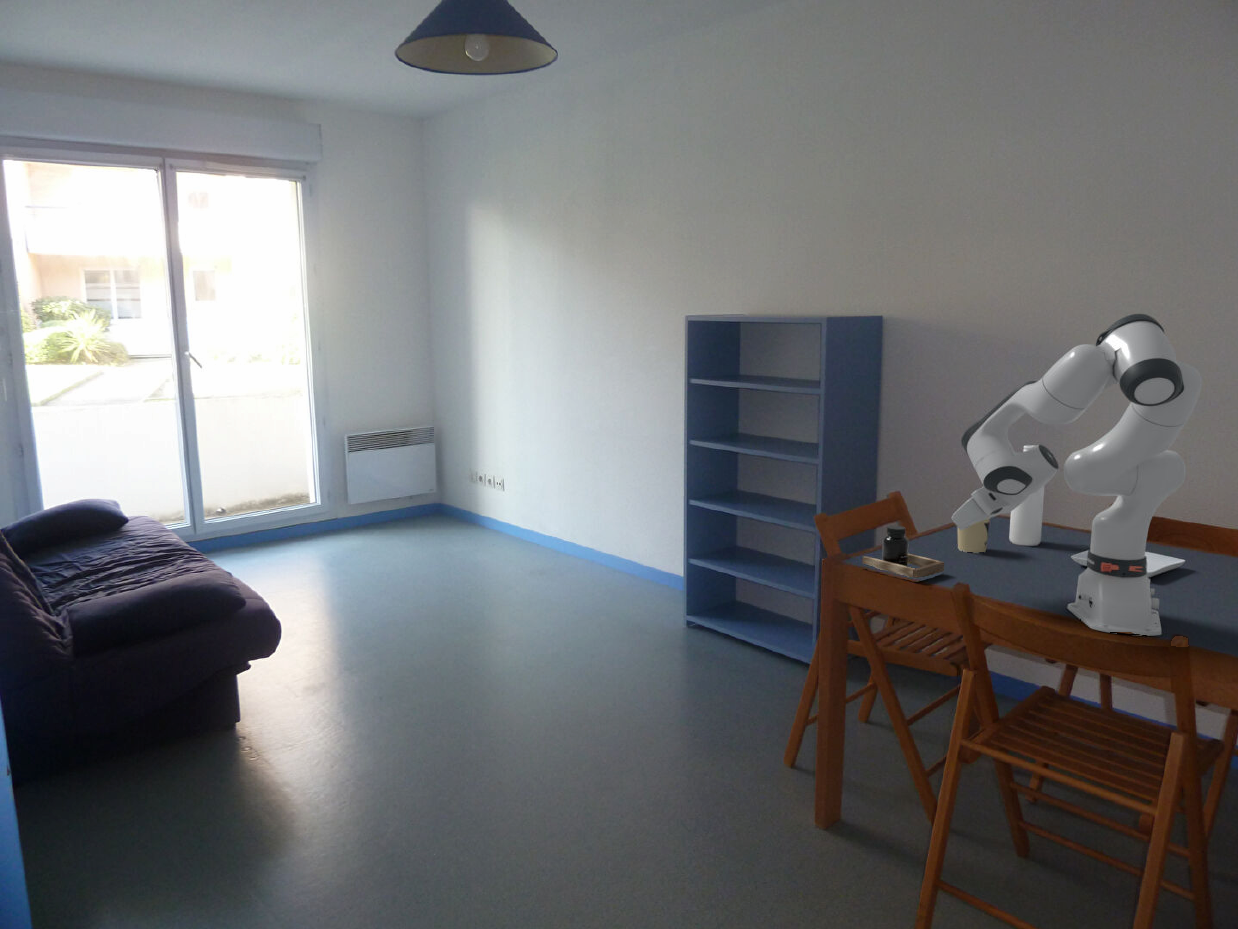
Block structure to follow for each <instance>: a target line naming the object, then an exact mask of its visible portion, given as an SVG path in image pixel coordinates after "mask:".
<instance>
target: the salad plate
mask: <svg viewBox="0 0 1238 929" xmlns="http://www.w3.org/2000/svg"><path fill="white" fill-rule="evenodd" d="M1089 550H1090V549H1089ZM1089 550H1088V549H1087V550H1086V551H1082V552H1079V553H1076V554H1073V555H1071V556H1070V557H1071V559H1072V560H1073V561H1075V563H1078V564H1079V565H1082V566H1085V567H1088V566H1087V555H1088V551H1089ZM1145 556H1146V557H1147V574H1146V576H1147V577H1148V578H1149V579H1150V578H1151V577H1154V576H1158V575H1160V574H1162V573H1166V572H1168V571H1171V570H1172V571H1173V570H1174V569H1178V568H1179V567H1181V566H1183V564H1185V562H1186V560H1185V559H1182V558H1177V557H1173V556H1167V555H1163V554H1159V553H1156V552H1155V553H1154V552H1150V551H1145Z"/></svg>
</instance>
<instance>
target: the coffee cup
mask: <svg viewBox="0 0 1238 929" xmlns="http://www.w3.org/2000/svg"><path fill="white" fill-rule="evenodd" d="M990 520H991V518H989V519H986V520H983V521H980V522H978V523H975V524H973V525H971V526H970V527H969V528H967V529H964V530H960V529H959V528H958V527H957V526H956V527H957V529H956V530H957V548H958V549H959V550H958V551H960V552H962V551H963V553H967V552H973V553H972V554H980V553H979V552H984V553H986V550H987V545H988V538H989V529H990V523H991V522H990Z"/></svg>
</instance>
